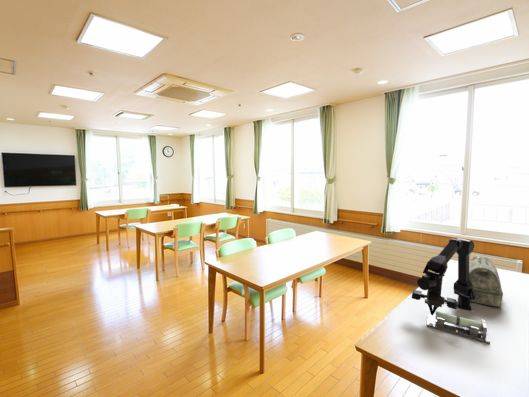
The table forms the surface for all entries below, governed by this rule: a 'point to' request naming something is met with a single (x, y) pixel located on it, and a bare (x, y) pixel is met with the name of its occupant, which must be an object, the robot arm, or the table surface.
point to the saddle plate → (459, 329)
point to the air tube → (459, 320)
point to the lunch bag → (485, 282)
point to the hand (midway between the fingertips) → (432, 314)
